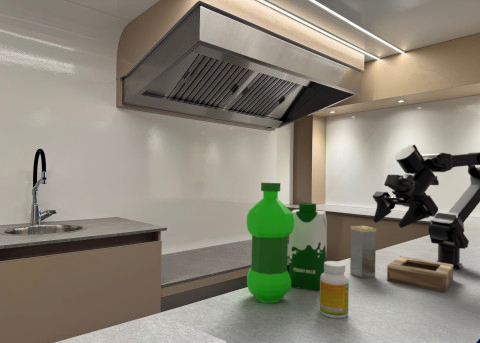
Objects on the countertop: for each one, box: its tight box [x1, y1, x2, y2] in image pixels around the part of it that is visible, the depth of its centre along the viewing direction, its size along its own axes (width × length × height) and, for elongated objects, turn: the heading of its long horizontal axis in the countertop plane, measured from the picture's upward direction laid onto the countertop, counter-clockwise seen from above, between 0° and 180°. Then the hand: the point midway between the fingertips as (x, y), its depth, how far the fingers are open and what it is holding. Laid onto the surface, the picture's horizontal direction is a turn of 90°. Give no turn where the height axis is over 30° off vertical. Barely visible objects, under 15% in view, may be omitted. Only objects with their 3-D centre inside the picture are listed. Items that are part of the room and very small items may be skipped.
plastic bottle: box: [246, 182, 294, 304], centre depth 73 cm, size 10×10×25 cm
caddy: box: [386, 255, 454, 294], centre depth 88 cm, size 13×13×4 cm
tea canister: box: [349, 225, 378, 279], centre depth 91 cm, size 5×5×13 cm
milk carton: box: [288, 202, 328, 292], centre depth 83 cm, size 9×9×20 cm
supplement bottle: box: [319, 260, 350, 319], centre depth 66 cm, size 5×5×10 cm
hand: (386, 224), depth 94 cm, fingers open, 9 cm apart
